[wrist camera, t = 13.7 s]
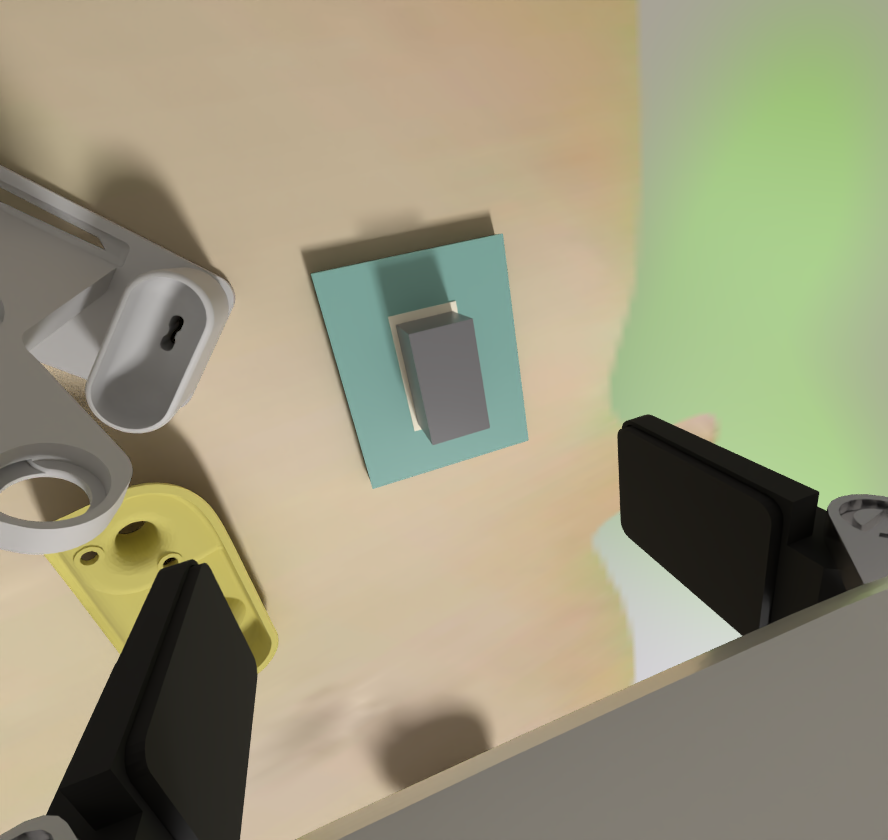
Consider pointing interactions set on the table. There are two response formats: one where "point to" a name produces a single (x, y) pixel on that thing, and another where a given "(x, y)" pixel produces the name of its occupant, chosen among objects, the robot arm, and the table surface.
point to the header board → (380, 357)
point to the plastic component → (160, 563)
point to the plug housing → (444, 375)
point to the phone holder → (90, 353)
